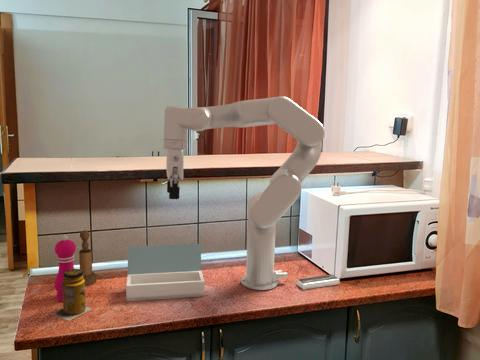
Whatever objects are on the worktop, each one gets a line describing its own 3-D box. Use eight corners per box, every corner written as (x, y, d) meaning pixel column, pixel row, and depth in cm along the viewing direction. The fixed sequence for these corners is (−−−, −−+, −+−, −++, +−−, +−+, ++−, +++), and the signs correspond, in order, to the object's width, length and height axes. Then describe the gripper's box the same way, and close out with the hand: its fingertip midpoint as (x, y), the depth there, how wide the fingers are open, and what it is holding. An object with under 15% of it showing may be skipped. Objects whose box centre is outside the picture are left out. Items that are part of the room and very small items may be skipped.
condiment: (92, 308, 124) (91, 270, 122) (69, 321, 116) (67, 280, 114) (74, 303, 127) (72, 265, 125) (50, 315, 120) (48, 275, 118)
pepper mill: (71, 303, 127) (68, 239, 123) (49, 301, 128) (46, 237, 125) (84, 293, 134) (82, 232, 130) (64, 291, 135) (61, 231, 132)
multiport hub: (296, 285, 145) (296, 279, 145) (332, 280, 150) (332, 274, 150) (302, 290, 141) (303, 284, 141) (339, 285, 146) (339, 278, 146)
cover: (201, 270, 142) (201, 270, 143) (200, 243, 143) (200, 243, 144) (127, 274, 137) (127, 274, 138) (127, 246, 138) (127, 246, 139)
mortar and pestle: (96, 285, 140) (94, 233, 137) (75, 287, 138) (73, 234, 135) (96, 277, 146) (95, 227, 143) (77, 279, 144) (74, 228, 141)
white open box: (201, 284, 143) (201, 270, 142) (204, 296, 134) (204, 281, 133) (128, 288, 138) (127, 274, 137) (126, 301, 129) (126, 285, 128)
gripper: (189, 147, 130) (186, 201, 133) (183, 142, 147) (181, 190, 150) (165, 146, 129) (162, 201, 132) (161, 141, 145) (160, 190, 148)
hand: (172, 195), depth 141 cm, fingers open, 9 cm apart
